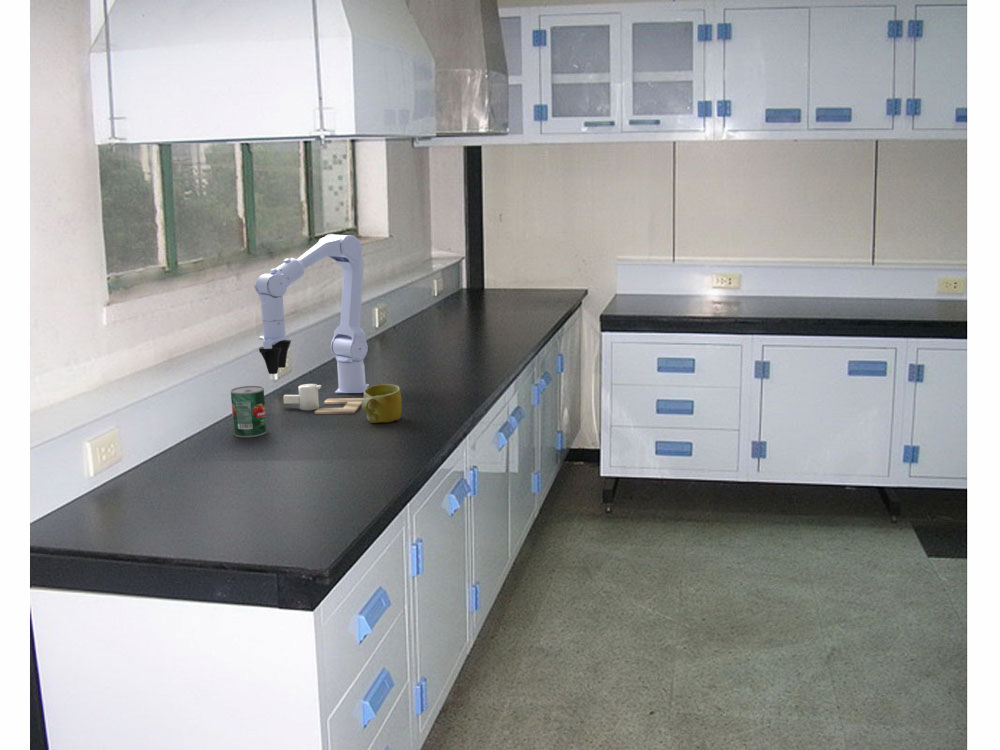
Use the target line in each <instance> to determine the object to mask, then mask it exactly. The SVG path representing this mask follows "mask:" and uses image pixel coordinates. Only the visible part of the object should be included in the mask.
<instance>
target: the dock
mask: <svg viewBox="0 0 1000 750" xmlns="http://www.w3.org/2000/svg"><path fill="white" fill-rule="evenodd" d="M363 399H364V397H358V398H357V397H350V398H347V397H345V398H341V397H340V398H336V397H335V398H326V399H325V400H324V401H323V405H344V406H343V407H319V408H318V409H315V410H314V415H339V414H341V415H345V414H346V415H348V414H350V415H351V414H352V415H353V414H355V413H356V412H357V411H358V410H359V409H360V408H361V407H362V403H363Z"/></svg>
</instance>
